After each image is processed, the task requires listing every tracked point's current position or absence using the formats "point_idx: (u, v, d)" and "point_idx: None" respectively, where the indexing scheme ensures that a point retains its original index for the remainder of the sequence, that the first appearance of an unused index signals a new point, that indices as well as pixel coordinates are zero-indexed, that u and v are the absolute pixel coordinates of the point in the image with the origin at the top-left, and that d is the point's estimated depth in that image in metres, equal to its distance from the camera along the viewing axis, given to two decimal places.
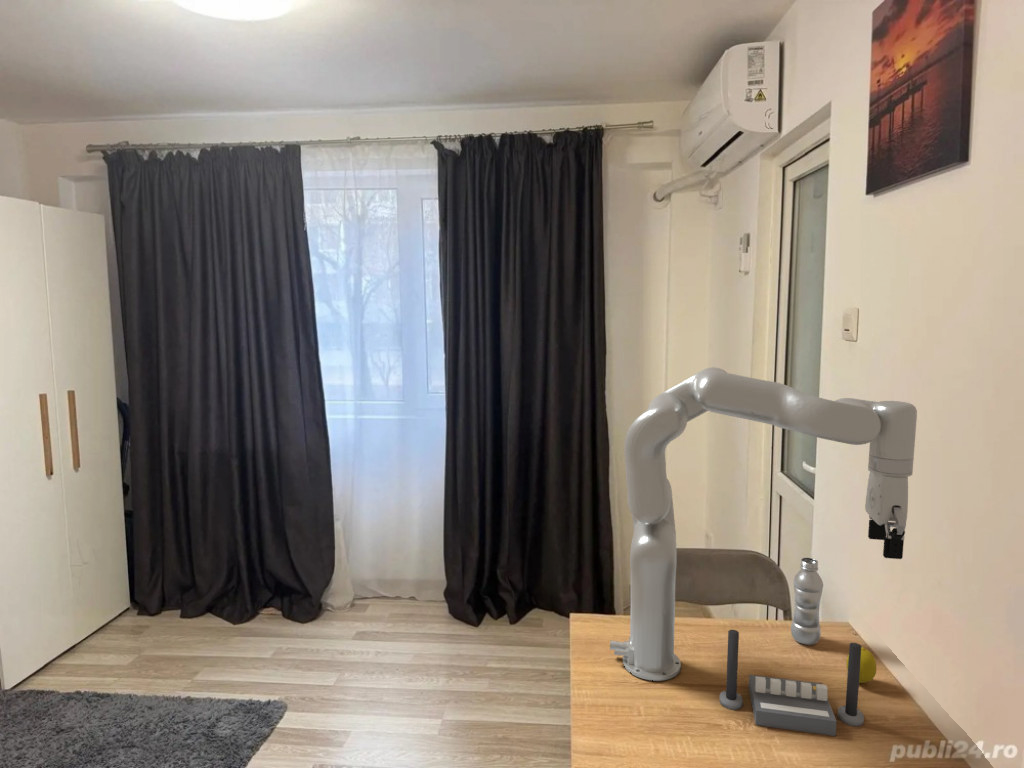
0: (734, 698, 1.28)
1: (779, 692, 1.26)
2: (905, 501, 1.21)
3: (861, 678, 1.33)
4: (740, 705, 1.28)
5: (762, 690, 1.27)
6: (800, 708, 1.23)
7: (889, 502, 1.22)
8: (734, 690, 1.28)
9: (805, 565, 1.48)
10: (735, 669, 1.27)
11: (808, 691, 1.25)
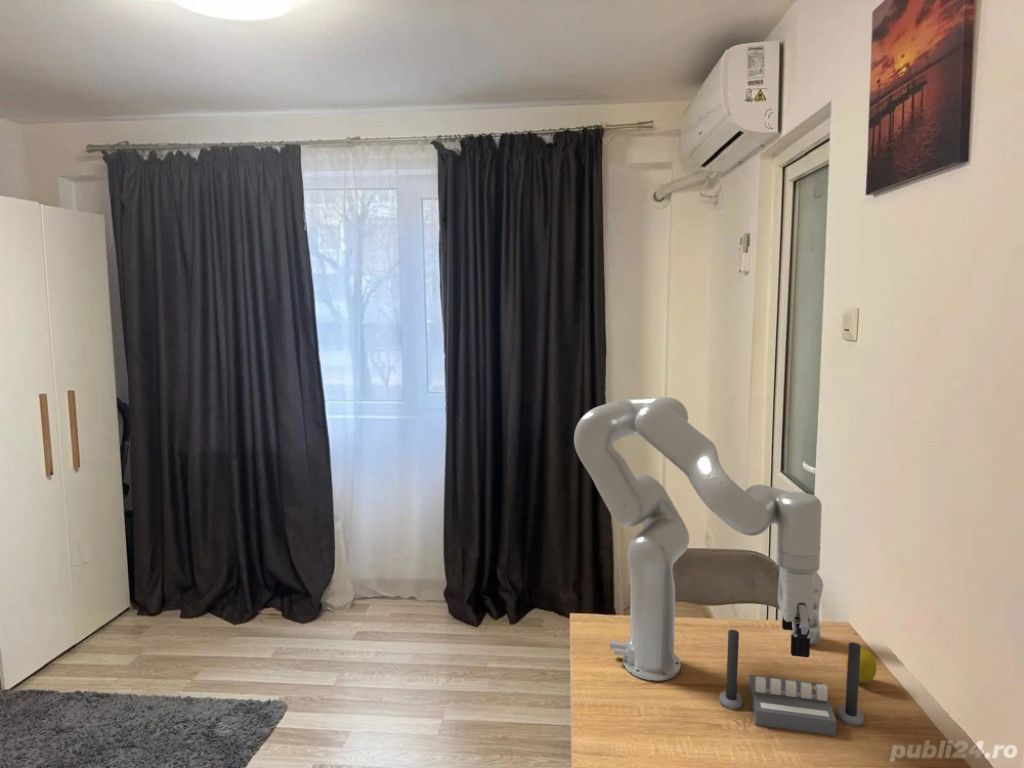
0: (734, 698, 1.28)
1: (779, 692, 1.26)
2: (810, 599, 1.18)
3: (861, 678, 1.33)
4: (740, 705, 1.28)
5: (762, 690, 1.27)
6: (800, 708, 1.23)
7: (794, 599, 1.19)
8: (734, 690, 1.28)
9: None
10: (735, 669, 1.27)
11: (808, 691, 1.25)
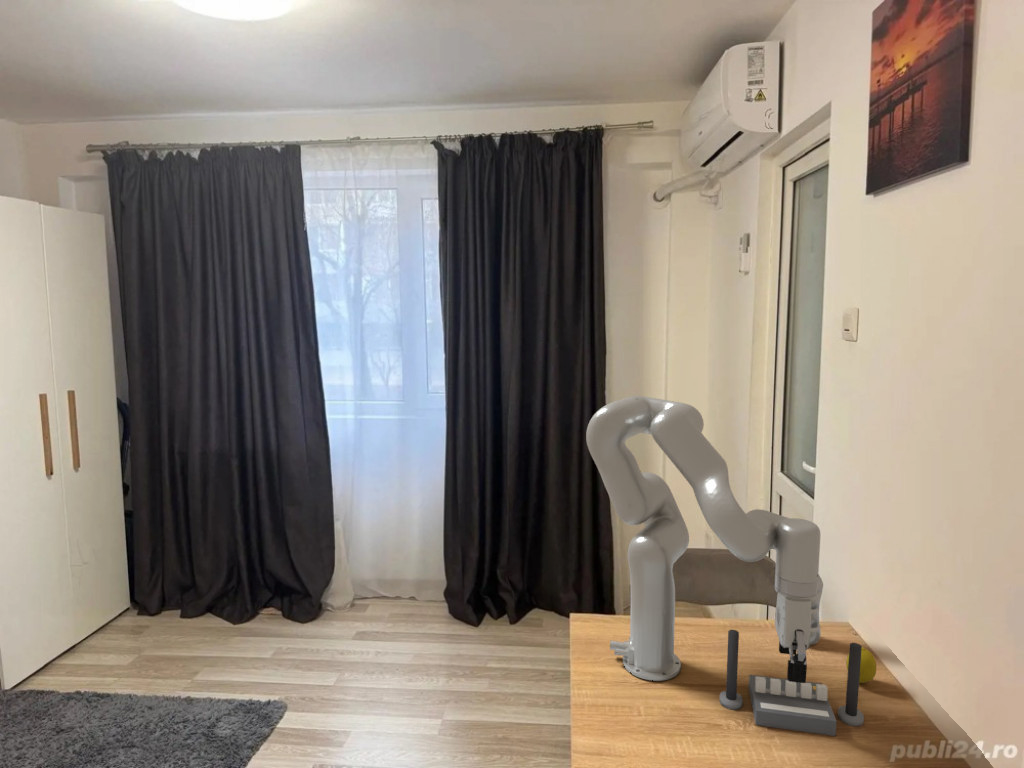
0: (734, 698, 1.28)
1: (779, 692, 1.26)
2: (808, 625, 1.19)
3: (861, 678, 1.33)
4: (740, 705, 1.28)
5: (762, 690, 1.27)
6: (800, 708, 1.23)
7: (792, 626, 1.19)
8: (734, 690, 1.28)
9: None
10: (735, 669, 1.27)
11: (808, 691, 1.25)
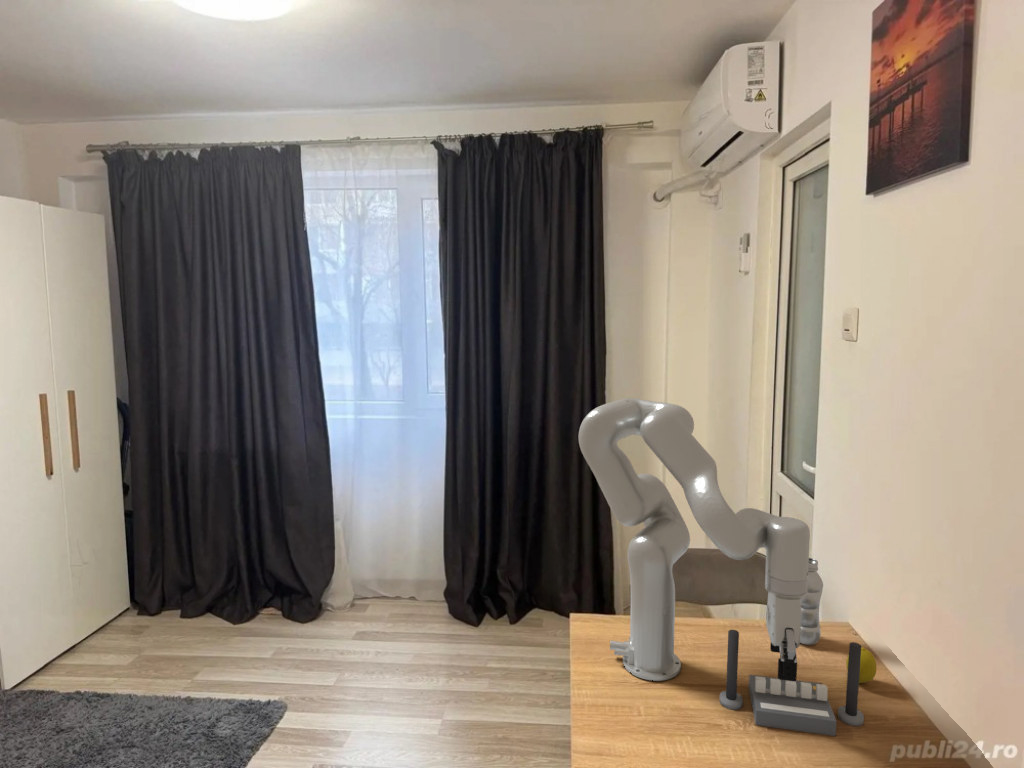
0: (734, 698, 1.28)
1: (779, 692, 1.26)
2: (797, 624, 1.19)
3: (861, 678, 1.33)
4: (740, 705, 1.28)
5: (762, 690, 1.27)
6: (800, 708, 1.23)
7: (782, 624, 1.20)
8: (734, 690, 1.28)
9: None
10: (735, 669, 1.27)
11: (808, 691, 1.25)
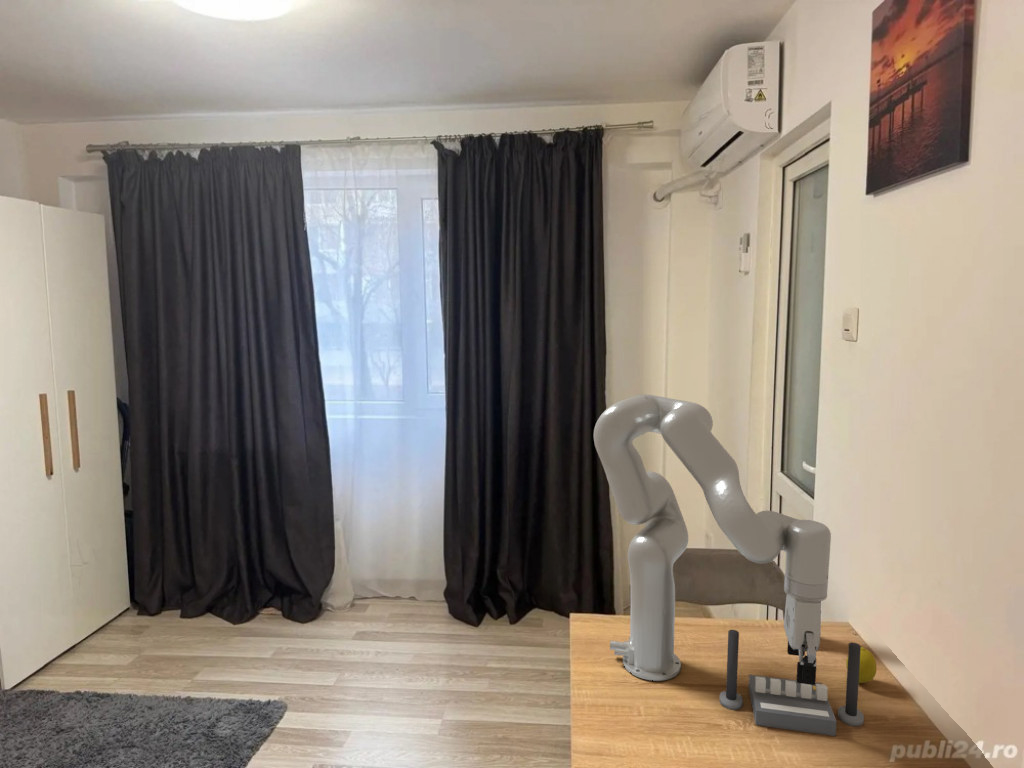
0: (734, 698, 1.28)
1: (779, 692, 1.26)
2: (817, 627, 1.19)
3: (861, 678, 1.33)
4: (740, 705, 1.28)
5: (762, 690, 1.27)
6: (800, 708, 1.23)
7: (802, 628, 1.19)
8: (734, 690, 1.28)
9: None
10: (735, 669, 1.27)
11: (808, 691, 1.25)
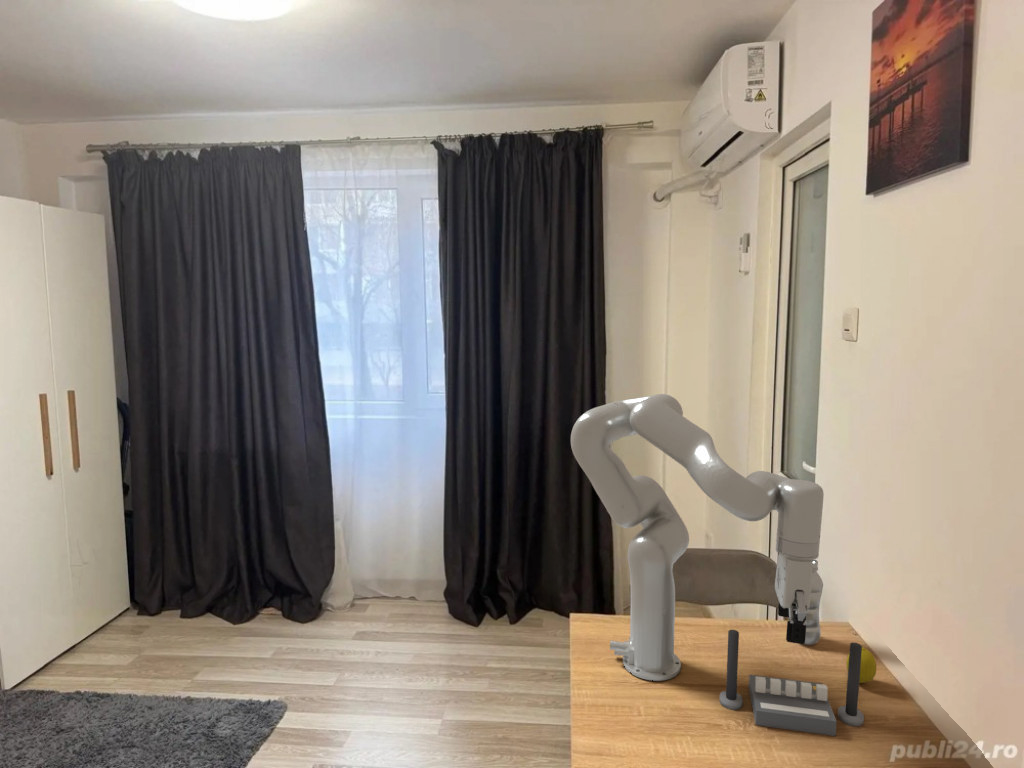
0: (734, 698, 1.28)
1: (779, 692, 1.26)
2: (808, 586, 1.18)
3: (861, 678, 1.33)
4: (740, 705, 1.28)
5: (762, 690, 1.27)
6: (800, 708, 1.23)
7: (792, 586, 1.19)
8: (734, 690, 1.28)
9: None
10: (735, 669, 1.27)
11: (808, 691, 1.25)
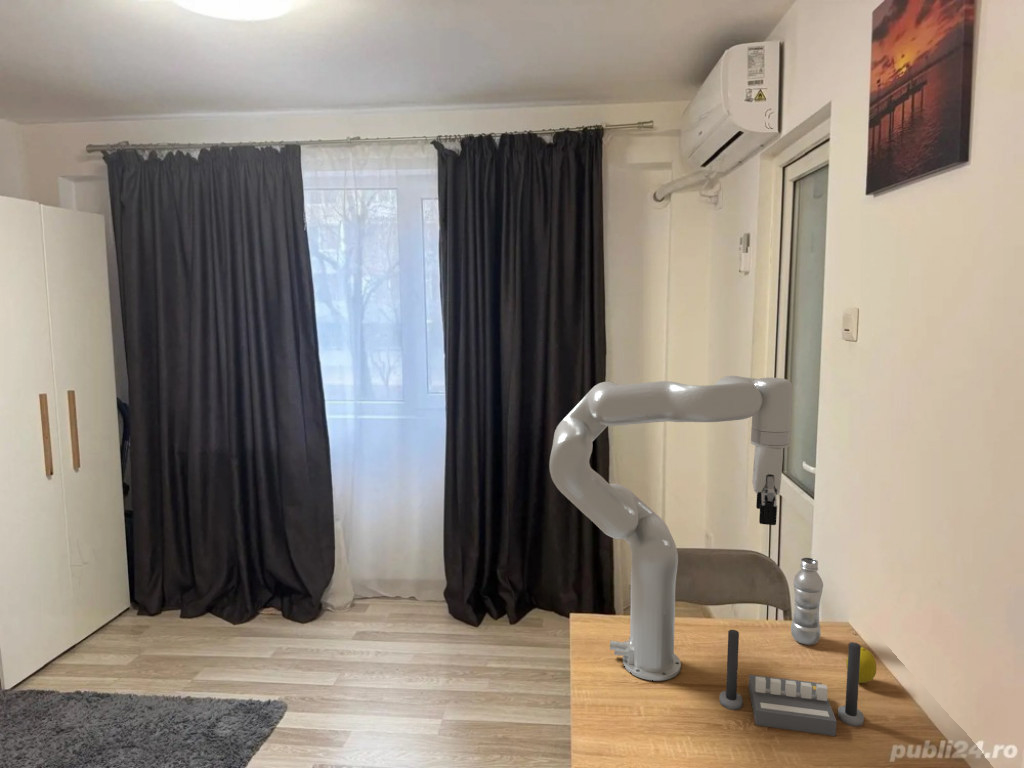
0: (734, 698, 1.28)
1: (779, 692, 1.26)
2: (778, 471, 1.29)
3: (861, 678, 1.33)
4: (740, 705, 1.28)
5: (762, 690, 1.27)
6: (800, 708, 1.23)
7: (763, 471, 1.30)
8: (734, 690, 1.28)
9: (805, 565, 1.48)
10: (735, 669, 1.27)
11: (808, 691, 1.25)
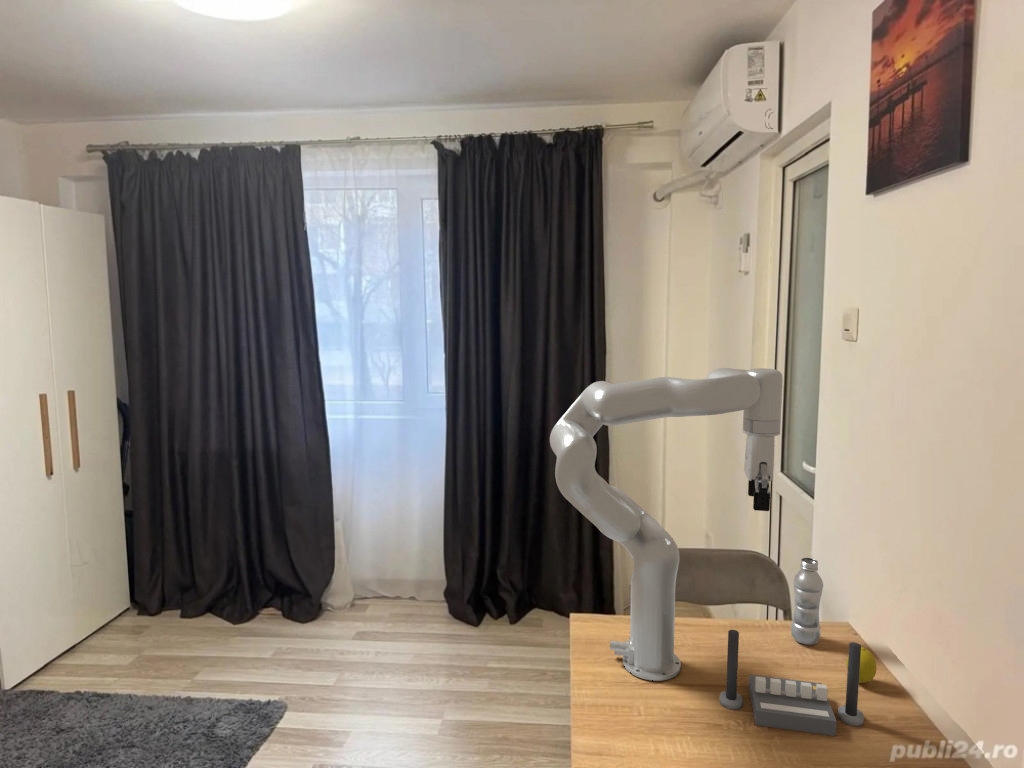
0: (734, 698, 1.28)
1: (779, 692, 1.26)
2: (771, 458, 1.34)
3: (861, 678, 1.33)
4: (740, 705, 1.28)
5: (762, 690, 1.27)
6: (800, 708, 1.23)
7: (757, 459, 1.34)
8: (734, 690, 1.28)
9: (805, 565, 1.48)
10: (735, 669, 1.27)
11: (808, 691, 1.25)
